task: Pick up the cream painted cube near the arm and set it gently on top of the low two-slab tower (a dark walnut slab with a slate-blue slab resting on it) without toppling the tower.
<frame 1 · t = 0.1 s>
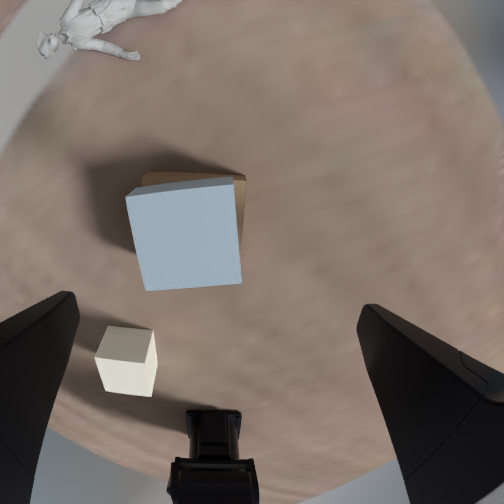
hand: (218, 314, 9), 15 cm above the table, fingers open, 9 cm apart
tower mid: (189, 227, 21), point 2 cm above the table
tower base: (194, 216, 23), on the table
cube: (133, 345, 27), on the table
soldier figure: (131, 14, 16), on the table
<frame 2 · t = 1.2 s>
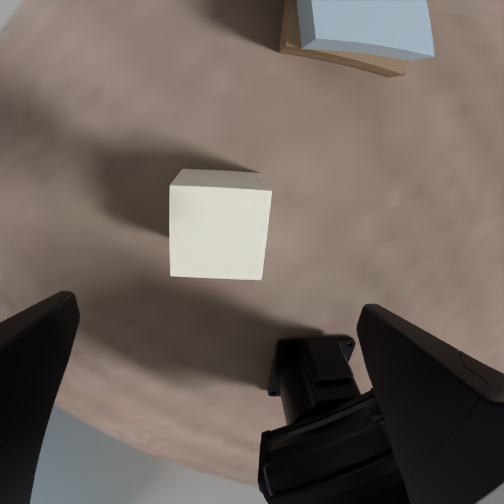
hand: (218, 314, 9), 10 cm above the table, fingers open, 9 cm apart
tower mid: (353, 2, 12), point 2 cm above the table, touching tower base
tower base: (338, 16, 14), on the table, touching tower mid
cube: (218, 207, 18), on the table
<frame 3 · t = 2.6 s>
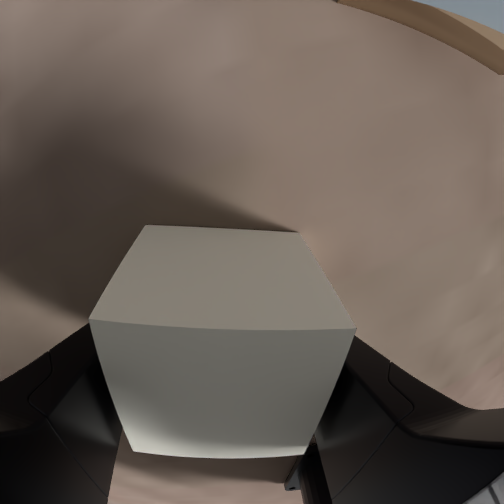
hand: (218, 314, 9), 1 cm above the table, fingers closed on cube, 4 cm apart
cube: (218, 295, 10), on the table, touching gripper
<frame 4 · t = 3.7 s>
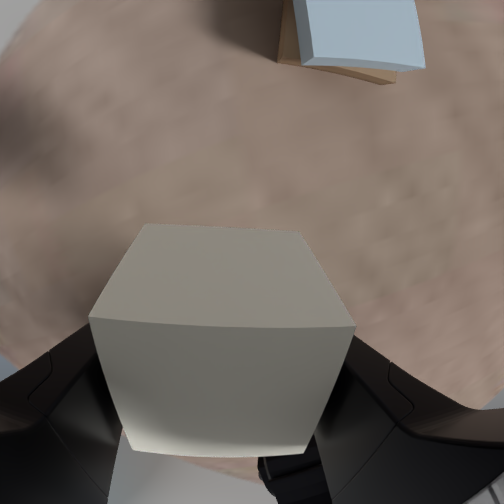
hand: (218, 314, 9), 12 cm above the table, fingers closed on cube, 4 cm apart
tower mid: (349, 18, 13), point 2 cm above the table, touching tower base
tower base: (333, 27, 15), on the table, touching tower mid
cube: (218, 294, 10), point 10 cm above the table, touching gripper
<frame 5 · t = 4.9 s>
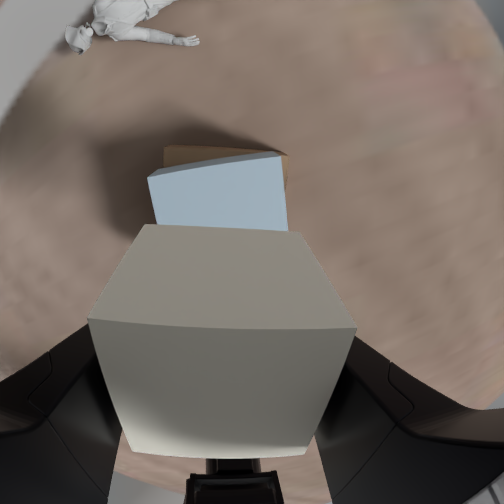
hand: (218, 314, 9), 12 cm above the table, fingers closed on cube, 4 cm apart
tower mid: (223, 214, 18), point 2 cm above the table, touching tower base
tower base: (222, 199, 20), on the table, touching tower mid
cube: (218, 294, 10), point 11 cm above the table, touching gripper
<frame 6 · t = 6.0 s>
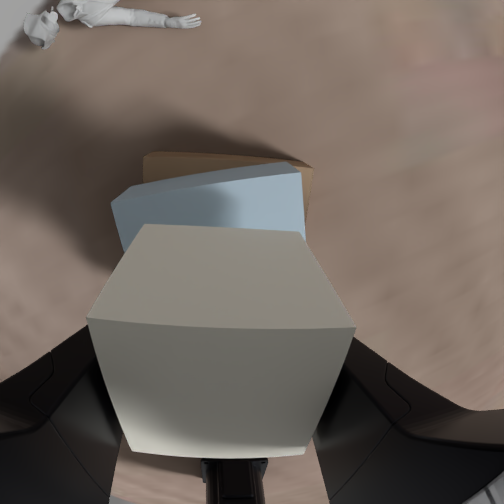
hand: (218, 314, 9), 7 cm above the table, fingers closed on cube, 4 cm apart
tower mid: (218, 245, 13), point 2 cm above the table, touching tower base
tower base: (222, 222, 16), on the table, touching tower mid
cube: (218, 294, 10), point 6 cm above the table, touching gripper
when the fingers open (7 cm above the table, at t = 6.2 s): cube drops 2 cm, resting on tower mid.
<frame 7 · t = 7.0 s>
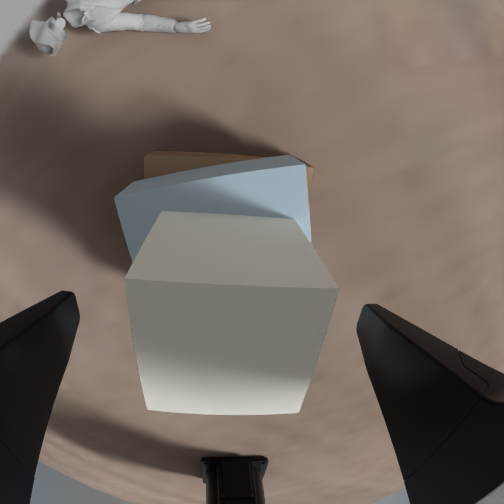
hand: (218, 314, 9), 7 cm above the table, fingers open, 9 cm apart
tower mid: (222, 240, 13), point 2 cm above the table, touching cube, tower base
tower base: (223, 221, 16), on the table, touching tower mid
cube: (224, 273, 11), point 4 cm above the table, touching tower mid
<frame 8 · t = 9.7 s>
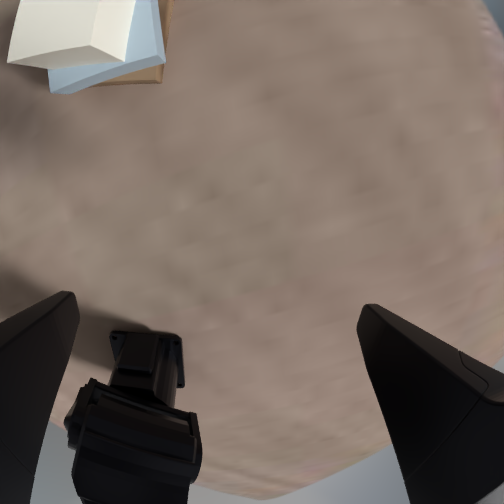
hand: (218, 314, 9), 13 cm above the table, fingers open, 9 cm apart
tower mid: (109, 32, 13), point 2 cm above the table, touching cube, tower base
tower base: (120, 39, 16), on the table, touching tower mid
cube: (92, 28, 11), point 4 cm above the table, touching tower mid
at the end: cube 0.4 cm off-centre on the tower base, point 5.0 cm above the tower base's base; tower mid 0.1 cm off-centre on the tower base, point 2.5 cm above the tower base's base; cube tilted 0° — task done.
